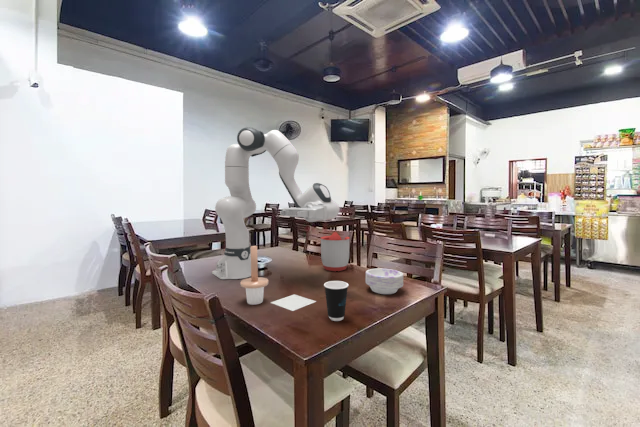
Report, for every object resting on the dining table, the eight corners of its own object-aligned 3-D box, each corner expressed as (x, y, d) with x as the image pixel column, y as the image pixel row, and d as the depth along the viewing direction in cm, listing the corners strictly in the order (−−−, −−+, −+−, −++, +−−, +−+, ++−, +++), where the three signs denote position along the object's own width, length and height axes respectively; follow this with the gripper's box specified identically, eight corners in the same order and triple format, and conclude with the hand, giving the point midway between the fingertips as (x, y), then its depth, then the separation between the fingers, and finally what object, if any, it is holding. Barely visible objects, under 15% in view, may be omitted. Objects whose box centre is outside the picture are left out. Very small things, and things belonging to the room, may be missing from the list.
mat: (270, 303, 109) (270, 302, 109) (294, 295, 118) (294, 294, 118) (292, 312, 101) (292, 311, 101) (316, 302, 110) (316, 301, 110)
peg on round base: (235, 284, 109) (234, 246, 108) (257, 278, 116) (256, 243, 115) (251, 290, 102) (250, 249, 101) (274, 283, 110) (273, 246, 109)
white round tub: (260, 306, 106) (259, 287, 105) (242, 305, 107) (241, 286, 107) (267, 300, 112) (267, 281, 112) (250, 299, 114) (250, 280, 113)
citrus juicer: (356, 267, 162) (357, 231, 161) (339, 274, 148) (339, 234, 147) (333, 263, 171) (333, 229, 170) (314, 269, 157) (314, 232, 156)
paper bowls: (403, 287, 128) (403, 268, 127) (402, 299, 113) (403, 278, 113) (367, 284, 132) (368, 266, 131) (362, 295, 117) (362, 275, 117)
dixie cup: (325, 312, 100) (325, 280, 100) (349, 313, 99) (349, 281, 99) (322, 322, 93) (322, 287, 92) (347, 323, 91) (347, 288, 91)
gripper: (295, 204, 139) (272, 205, 129) (329, 205, 125) (306, 206, 115) (295, 217, 139) (272, 219, 129) (329, 220, 126) (306, 222, 115)
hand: (288, 213), depth 122 cm, fingers open, 8 cm apart
